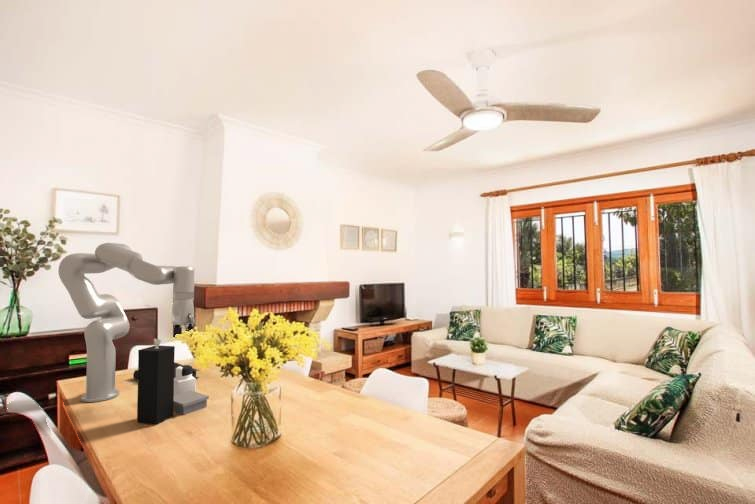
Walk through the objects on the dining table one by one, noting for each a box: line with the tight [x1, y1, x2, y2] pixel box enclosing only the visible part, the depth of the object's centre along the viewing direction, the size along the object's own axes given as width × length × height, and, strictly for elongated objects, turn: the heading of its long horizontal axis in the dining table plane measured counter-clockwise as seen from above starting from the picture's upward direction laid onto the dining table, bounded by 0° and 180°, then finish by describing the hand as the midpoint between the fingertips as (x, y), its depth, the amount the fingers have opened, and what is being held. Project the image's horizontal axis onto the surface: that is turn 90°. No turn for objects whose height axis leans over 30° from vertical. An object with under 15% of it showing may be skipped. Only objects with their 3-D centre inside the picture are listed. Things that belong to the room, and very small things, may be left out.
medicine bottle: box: [174, 364, 197, 395], centre depth 154 cm, size 7×7×12 cm
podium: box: [173, 390, 210, 416], centre depth 141 cm, size 12×10×4 cm
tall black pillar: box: [136, 338, 176, 426], centre depth 130 cm, size 8×8×28 cm
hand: (183, 338), depth 152 cm, fingers open, 9 cm apart
